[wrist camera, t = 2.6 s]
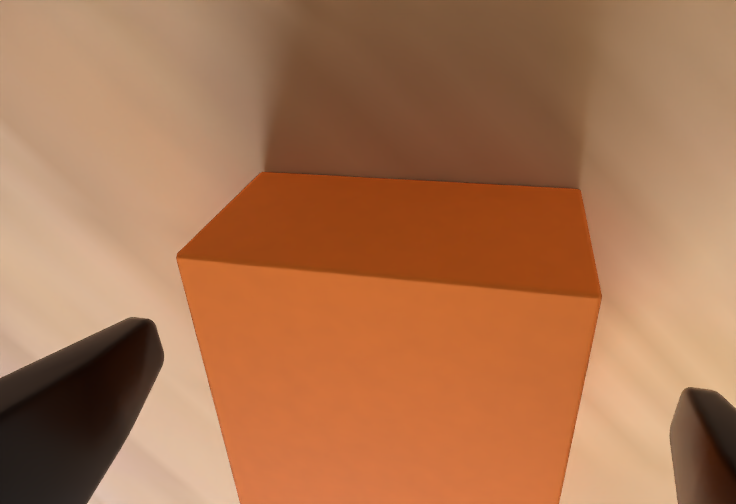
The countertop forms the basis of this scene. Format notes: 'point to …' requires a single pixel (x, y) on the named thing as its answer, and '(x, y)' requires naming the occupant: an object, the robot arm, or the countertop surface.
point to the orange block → (395, 338)
